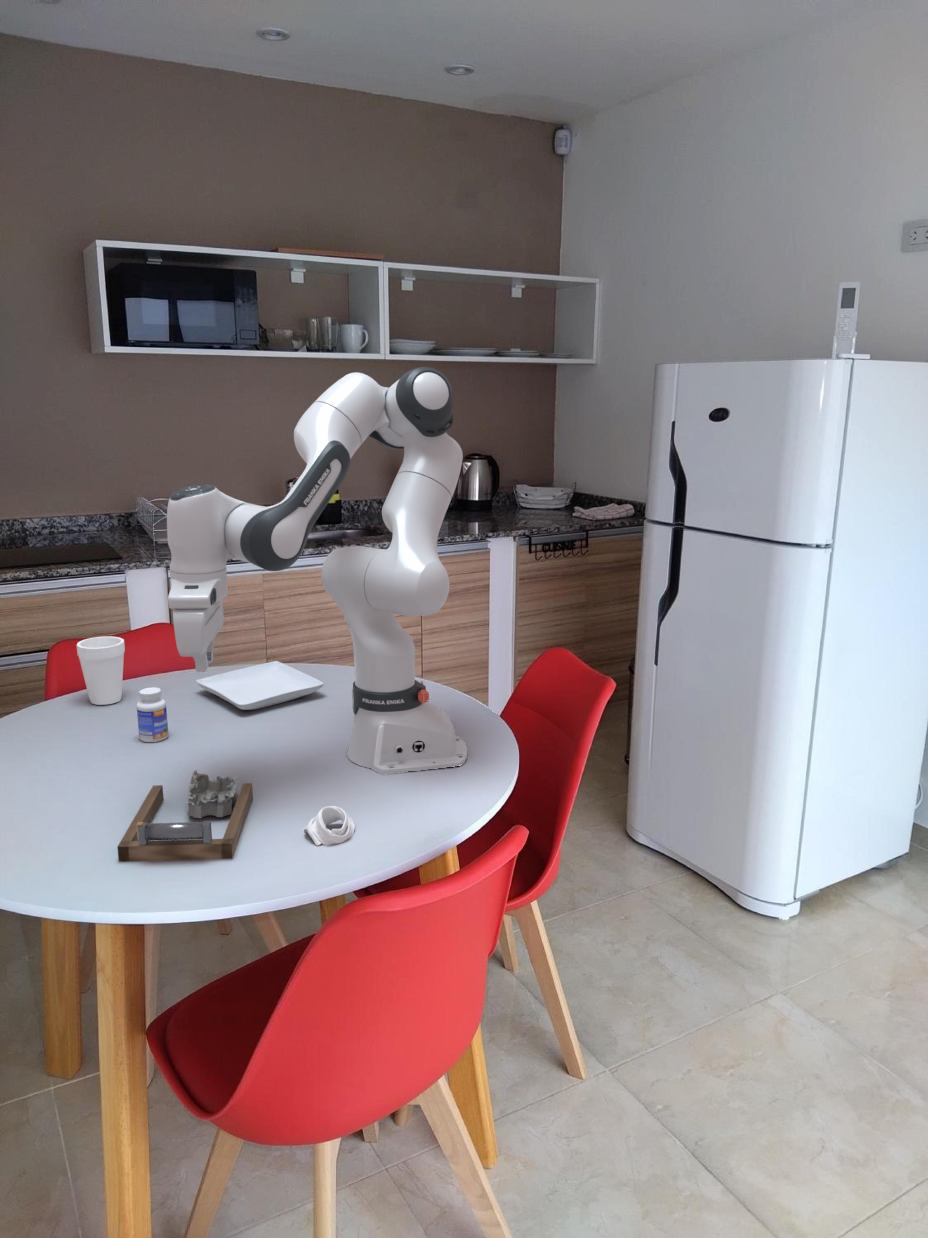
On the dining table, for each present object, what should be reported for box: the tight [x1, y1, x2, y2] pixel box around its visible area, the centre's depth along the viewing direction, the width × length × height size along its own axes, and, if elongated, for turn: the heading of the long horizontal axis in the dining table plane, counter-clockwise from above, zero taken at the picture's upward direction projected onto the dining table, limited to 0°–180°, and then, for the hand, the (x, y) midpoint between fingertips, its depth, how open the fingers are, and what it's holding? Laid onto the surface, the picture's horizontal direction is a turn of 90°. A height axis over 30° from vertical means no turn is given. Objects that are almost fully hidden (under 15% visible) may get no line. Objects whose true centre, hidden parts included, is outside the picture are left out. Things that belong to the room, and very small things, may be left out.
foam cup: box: [76, 635, 126, 706], centre depth 191 cm, size 10×9×13 cm
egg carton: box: [186, 770, 239, 819], centre depth 144 cm, size 11×8×4 cm
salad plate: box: [195, 660, 325, 711], centre depth 198 cm, size 21×21×3 cm
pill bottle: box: [136, 686, 169, 743], centre depth 171 cm, size 5×5×10 cm
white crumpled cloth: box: [303, 805, 356, 846], centre depth 135 cm, size 8×7×5 cm
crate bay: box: [116, 782, 254, 863], centre depth 137 cm, size 16×20×3 cm
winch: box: [136, 820, 213, 846], centre depth 127 cm, size 10×2×3 cm, turn 95°
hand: (204, 666), depth 148 cm, fingers open, 3 cm apart
